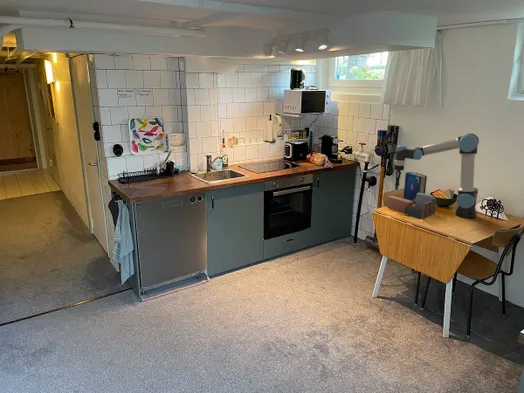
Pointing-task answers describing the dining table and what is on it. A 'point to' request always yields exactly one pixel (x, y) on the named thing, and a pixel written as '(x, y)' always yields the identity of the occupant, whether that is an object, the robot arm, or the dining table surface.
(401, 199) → the book box
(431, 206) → the shelf wall
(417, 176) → the book
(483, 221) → the dining table surface
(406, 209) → the bookend
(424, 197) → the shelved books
